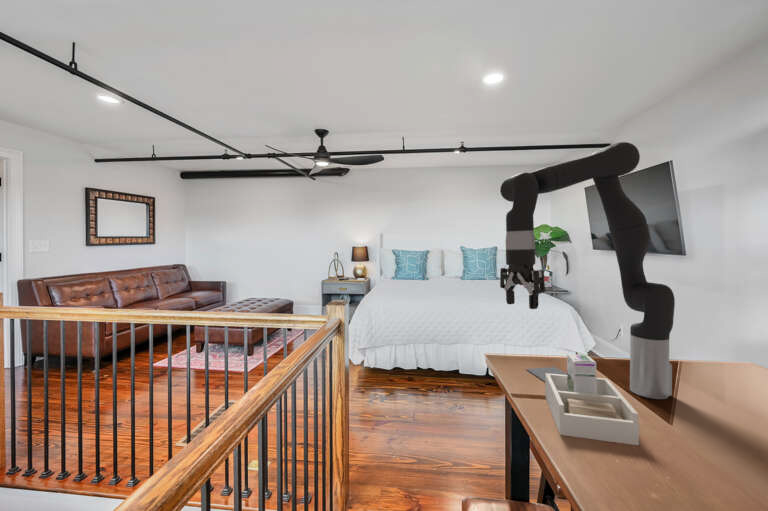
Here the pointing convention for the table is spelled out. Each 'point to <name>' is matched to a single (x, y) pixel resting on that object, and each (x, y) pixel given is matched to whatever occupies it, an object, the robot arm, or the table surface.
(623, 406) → the white divided tray
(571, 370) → the syrup box
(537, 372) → the rubber mat
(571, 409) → the offcut stack
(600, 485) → the table surface
